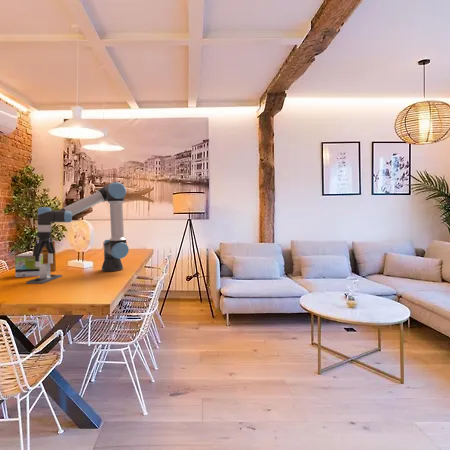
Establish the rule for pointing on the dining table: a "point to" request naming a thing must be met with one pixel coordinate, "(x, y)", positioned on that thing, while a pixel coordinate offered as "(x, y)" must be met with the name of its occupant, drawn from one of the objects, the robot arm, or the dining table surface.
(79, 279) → the dining table surface
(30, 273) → the tea box
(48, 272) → the block with top tab
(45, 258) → the coffee package
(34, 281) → the grey flat frame
